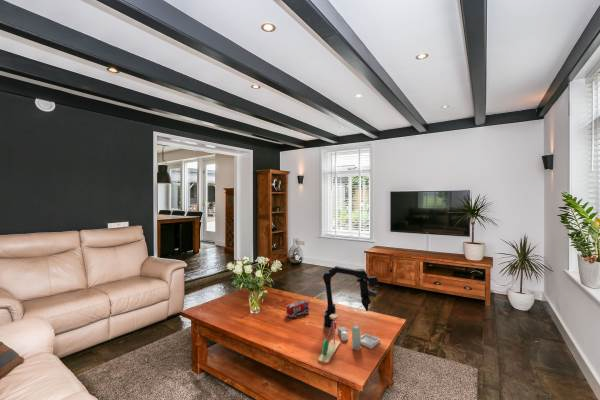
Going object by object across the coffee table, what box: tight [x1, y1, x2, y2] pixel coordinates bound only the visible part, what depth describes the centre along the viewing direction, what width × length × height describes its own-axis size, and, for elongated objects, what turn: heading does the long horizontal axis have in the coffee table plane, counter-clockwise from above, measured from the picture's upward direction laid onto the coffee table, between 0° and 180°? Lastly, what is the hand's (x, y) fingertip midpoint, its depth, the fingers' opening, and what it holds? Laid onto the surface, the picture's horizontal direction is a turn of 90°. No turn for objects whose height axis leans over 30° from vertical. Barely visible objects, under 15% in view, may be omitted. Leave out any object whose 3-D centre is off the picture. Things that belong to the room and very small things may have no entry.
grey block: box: [337, 326, 348, 338], centre depth 196 cm, size 5×5×4 cm
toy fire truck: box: [285, 298, 310, 319], centre depth 229 cm, size 9×19×10 cm, turn 124°
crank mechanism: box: [317, 313, 341, 365], centre depth 174 cm, size 25×7×19 cm, turn 155°
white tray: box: [361, 333, 381, 349], centre depth 186 cm, size 11×11×2 cm
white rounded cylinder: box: [340, 331, 349, 342], centre depth 190 cm, size 4×4×4 cm
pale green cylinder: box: [351, 324, 362, 351], centre depth 179 cm, size 5×5×13 cm
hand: (366, 308), depth 205 cm, fingers open, 9 cm apart
